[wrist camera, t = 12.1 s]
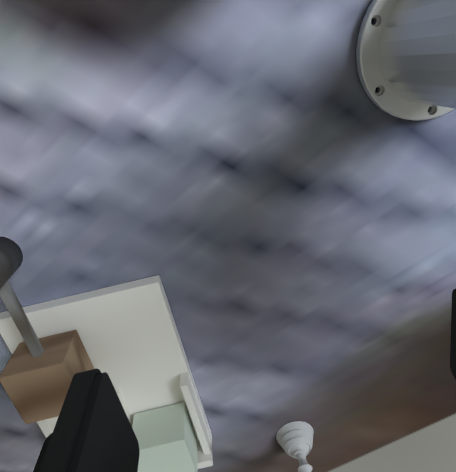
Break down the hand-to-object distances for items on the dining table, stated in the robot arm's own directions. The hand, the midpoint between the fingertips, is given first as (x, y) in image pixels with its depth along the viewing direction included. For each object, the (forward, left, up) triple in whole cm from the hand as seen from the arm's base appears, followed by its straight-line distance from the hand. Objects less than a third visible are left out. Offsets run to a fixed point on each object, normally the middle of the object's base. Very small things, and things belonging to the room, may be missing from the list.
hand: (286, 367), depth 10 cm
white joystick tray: (+23, -17, -28) cm, 40 cm away
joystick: (+11, -21, -26) cm, 36 cm away
